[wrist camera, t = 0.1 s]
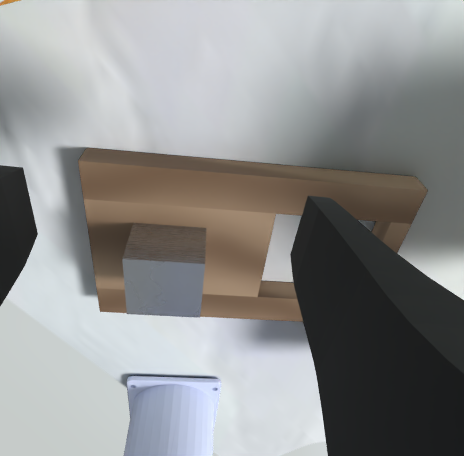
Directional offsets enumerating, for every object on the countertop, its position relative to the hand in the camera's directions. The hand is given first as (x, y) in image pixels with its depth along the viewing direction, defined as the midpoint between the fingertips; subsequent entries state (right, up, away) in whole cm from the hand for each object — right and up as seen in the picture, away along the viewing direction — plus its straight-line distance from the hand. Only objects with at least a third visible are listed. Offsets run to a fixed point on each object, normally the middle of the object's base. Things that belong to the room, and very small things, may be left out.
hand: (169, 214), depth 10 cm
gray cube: (-2, -1, +13) cm, 13 cm away
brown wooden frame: (+2, -1, +14) cm, 14 cm away
